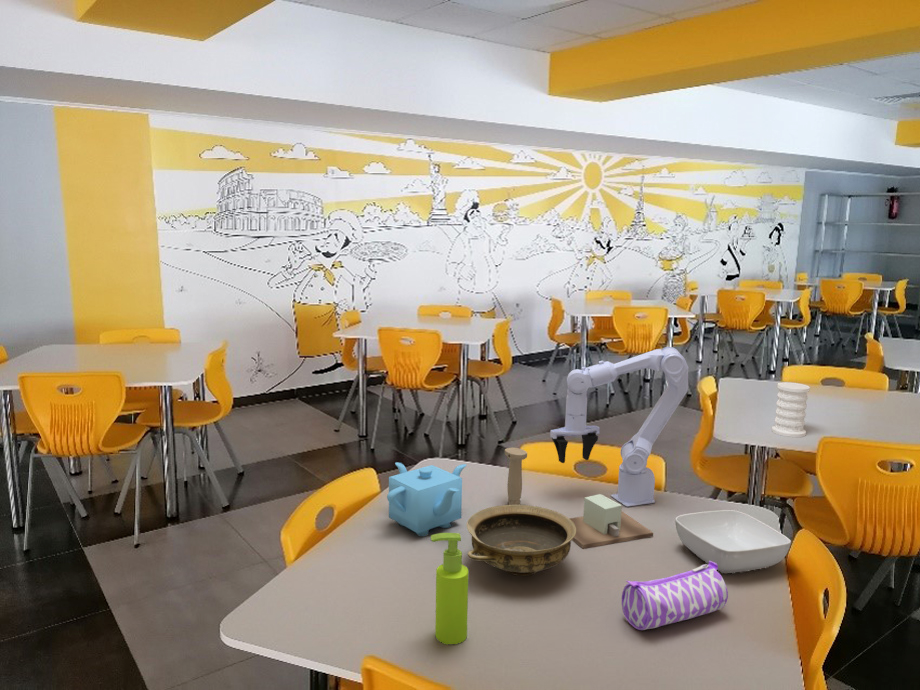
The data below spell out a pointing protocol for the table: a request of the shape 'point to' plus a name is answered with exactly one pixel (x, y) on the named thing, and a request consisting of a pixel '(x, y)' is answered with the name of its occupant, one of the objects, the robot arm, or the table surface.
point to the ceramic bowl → (520, 538)
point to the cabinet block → (601, 512)
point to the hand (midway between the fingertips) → (573, 460)
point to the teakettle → (425, 497)
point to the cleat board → (609, 532)
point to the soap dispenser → (451, 592)
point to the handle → (515, 474)
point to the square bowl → (732, 540)
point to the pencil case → (674, 597)
